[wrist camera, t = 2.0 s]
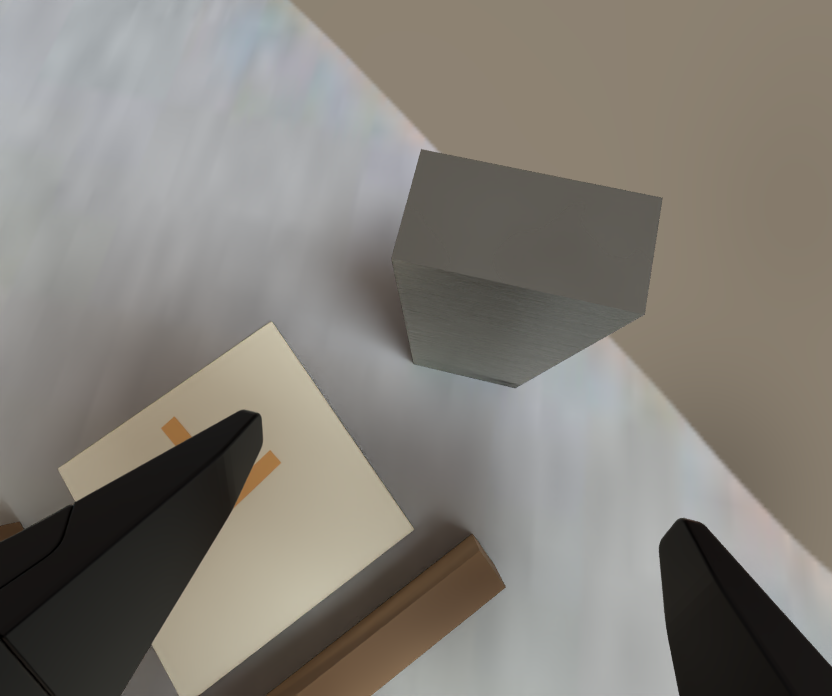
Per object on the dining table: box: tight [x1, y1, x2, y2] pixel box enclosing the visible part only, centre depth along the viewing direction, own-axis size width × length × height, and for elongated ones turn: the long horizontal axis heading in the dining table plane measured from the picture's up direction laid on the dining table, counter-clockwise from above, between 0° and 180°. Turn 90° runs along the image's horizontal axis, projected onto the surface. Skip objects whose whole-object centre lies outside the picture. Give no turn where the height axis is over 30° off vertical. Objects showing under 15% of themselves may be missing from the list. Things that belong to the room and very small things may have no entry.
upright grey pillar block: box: [391, 149, 662, 388], centre depth 16 cm, size 5×6×13 cm
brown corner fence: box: [0, 522, 506, 696], centre depth 19 cm, size 14×18×3 cm
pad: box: [58, 322, 414, 696], centre depth 20 cm, size 12×12×1 cm
